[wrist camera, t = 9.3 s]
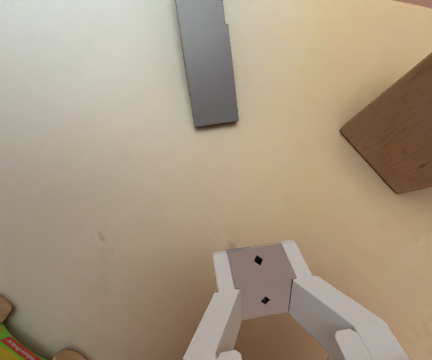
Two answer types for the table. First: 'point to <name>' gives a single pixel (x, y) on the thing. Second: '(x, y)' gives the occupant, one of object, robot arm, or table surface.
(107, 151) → the table surface
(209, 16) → the domino
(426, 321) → the table surface
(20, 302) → the table surface
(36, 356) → the toy lion
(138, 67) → the table surface
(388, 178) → the wooden block
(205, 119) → the domino
